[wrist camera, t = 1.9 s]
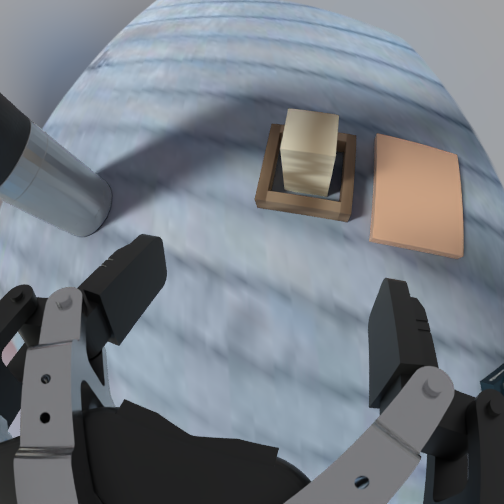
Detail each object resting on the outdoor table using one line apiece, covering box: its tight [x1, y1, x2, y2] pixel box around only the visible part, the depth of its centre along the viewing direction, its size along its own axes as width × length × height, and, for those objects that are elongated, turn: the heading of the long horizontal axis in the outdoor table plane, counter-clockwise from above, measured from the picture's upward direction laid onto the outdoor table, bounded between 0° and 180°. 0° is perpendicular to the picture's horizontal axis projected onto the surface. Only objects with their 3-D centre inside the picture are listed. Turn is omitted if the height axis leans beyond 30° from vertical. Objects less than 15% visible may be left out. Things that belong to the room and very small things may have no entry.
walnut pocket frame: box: [255, 124, 356, 222], centre depth 33 cm, size 10×10×2 cm
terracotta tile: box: [369, 133, 463, 259], centre depth 31 cm, size 12×14×2 cm
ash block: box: [280, 108, 339, 197], centre depth 30 cm, size 5×5×9 cm
